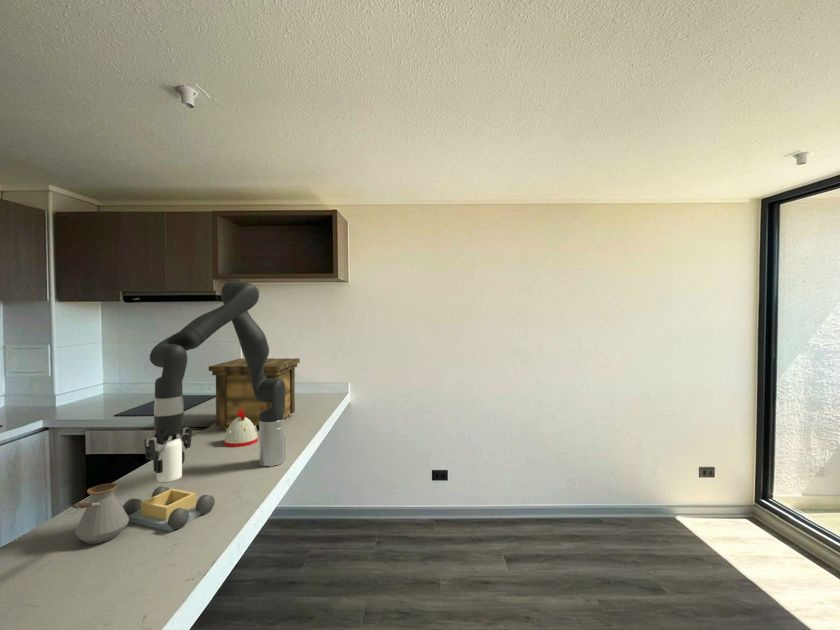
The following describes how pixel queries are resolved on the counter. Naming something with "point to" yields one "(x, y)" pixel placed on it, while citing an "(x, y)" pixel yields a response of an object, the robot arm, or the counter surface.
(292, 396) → the crate
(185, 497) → the chassis
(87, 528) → the coffee pot
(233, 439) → the kitchen timer
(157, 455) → the robot arm
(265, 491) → the counter surface
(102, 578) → the counter surface
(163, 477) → the can
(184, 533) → the counter surface
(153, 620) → the counter surface
